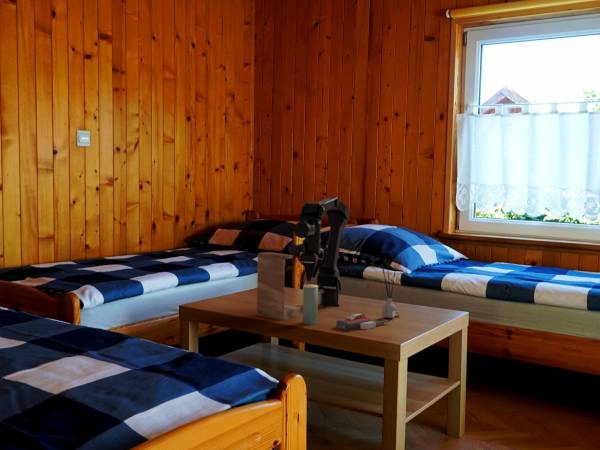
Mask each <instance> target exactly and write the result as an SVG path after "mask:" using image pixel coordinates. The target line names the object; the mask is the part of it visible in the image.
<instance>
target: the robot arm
mask: <svg viewBox="0 0 600 450" xmlns="http://www.w3.org/2000/svg"><path fill="white" fill-rule="evenodd" d="M325 215H326V218H327V219H326V220H327V224H328V225H329V235H328V240H327V245H326V246H327V248H326V253H325V251H323V250H322V249H321V243H322V239H321V231H322V230H321V228H322V224H323V222H322V219H323V218H324V216H325ZM350 217H351V215H350V210H349V209H348V206H347V205H346V204H345V203H344V202H343V201H341V199H340V198H339V197H331V196H327V197H326V198H324V199H322V200H319V201H317V202H311V201H310V202H308V201H305V203H304V204H303V206H302V207H301V211H300V214H299V216H298V221H299V222H297V223H296V224H295V225H294V227H293V232H294V235H295V236H296V237H297V238H300V239H303V240H302V243H299V244H297V243H291V244H290V245H289V246H290V247H288V253H289V255H293V256H295V255H297V254H298V262H299V263H300V264H301V265H302V266H303V268H304V270H305V271H304V272H305V277H306V281H307V282H311V281H312V279H314V278H316V285H318V290H320V293H319V304H320V305H321V306H323V307H339V306H340V305H341V304H339V292H341V291H342V290H343V282H342V280H341V277H340V271H339V268H338V266H337V265H338V258H339V253H340V246H341V239H342V235H343V233H342V232H343V230H344V229H345V228H346V227H347V226H348V221H349V220H350ZM299 254H300V255H299ZM324 258H325V259H324ZM323 261H324V263H323ZM322 263H323V264H322ZM317 273H318V274H317Z"/></svg>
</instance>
